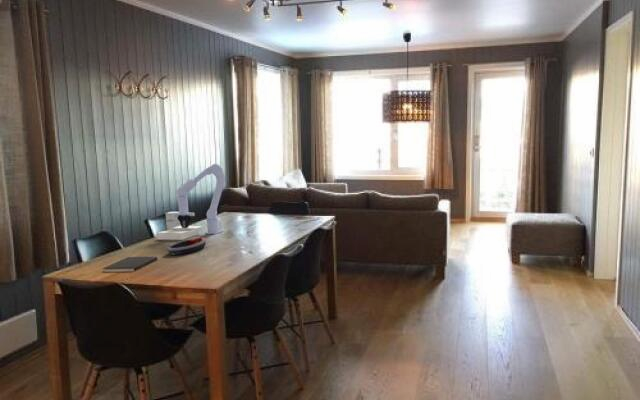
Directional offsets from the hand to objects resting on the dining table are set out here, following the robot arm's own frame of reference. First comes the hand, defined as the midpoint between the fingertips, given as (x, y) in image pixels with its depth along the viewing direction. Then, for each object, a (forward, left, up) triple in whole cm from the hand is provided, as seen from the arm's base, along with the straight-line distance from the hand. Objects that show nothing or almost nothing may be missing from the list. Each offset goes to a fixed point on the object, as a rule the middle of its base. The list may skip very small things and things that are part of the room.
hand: (185, 227), depth 340 cm
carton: (+9, 0, -5) cm, 10 cm away
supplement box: (-14, -19, -5) cm, 25 cm away
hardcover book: (+77, +22, -6) cm, 80 cm away
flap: (-3, 0, -1) cm, 3 cm away
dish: (+41, +30, -6) cm, 51 cm away
